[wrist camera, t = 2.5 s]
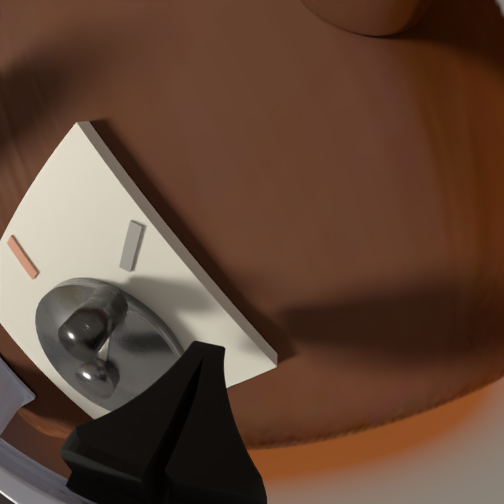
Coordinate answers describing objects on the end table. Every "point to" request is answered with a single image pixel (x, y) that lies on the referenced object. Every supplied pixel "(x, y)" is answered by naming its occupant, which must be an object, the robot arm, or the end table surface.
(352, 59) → the end table surface
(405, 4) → the beer glass
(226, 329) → the base plate
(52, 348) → the cam dial
